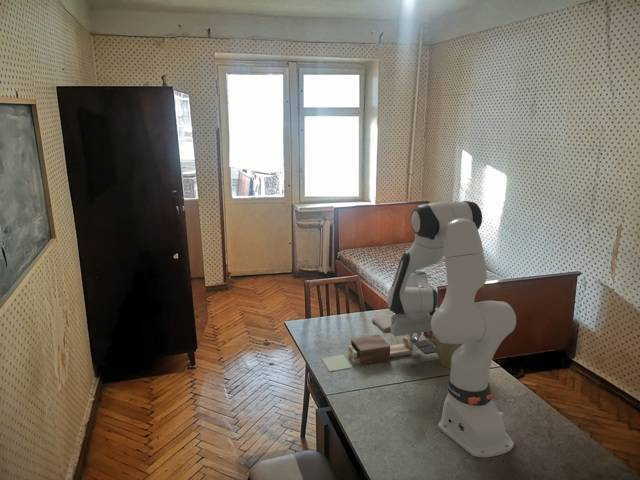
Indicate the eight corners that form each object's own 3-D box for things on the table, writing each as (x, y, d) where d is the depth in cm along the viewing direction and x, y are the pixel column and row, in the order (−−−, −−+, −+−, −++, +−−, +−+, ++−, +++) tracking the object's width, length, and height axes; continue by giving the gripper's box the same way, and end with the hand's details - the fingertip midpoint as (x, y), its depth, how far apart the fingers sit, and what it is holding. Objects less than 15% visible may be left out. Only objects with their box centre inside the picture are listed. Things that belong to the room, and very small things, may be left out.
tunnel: (389, 361, 178) (390, 346, 176) (361, 366, 174) (361, 351, 173) (378, 349, 187) (378, 334, 186) (351, 353, 184) (351, 338, 182)
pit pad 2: (438, 351, 185) (438, 350, 185) (425, 353, 183) (425, 353, 183) (432, 346, 189) (432, 345, 189) (419, 348, 187) (419, 348, 187)
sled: (412, 353, 183) (413, 342, 182) (353, 363, 176) (354, 352, 175) (405, 346, 188) (405, 336, 187) (348, 356, 181) (348, 345, 180)
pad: (352, 367, 174) (352, 367, 174) (329, 371, 171) (329, 371, 171) (343, 355, 183) (343, 354, 183) (321, 358, 180) (321, 358, 180)
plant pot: (448, 350, 186) (450, 314, 182) (478, 366, 174) (482, 327, 170) (421, 361, 178) (423, 323, 174) (451, 378, 166) (454, 338, 162)
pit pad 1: (431, 345, 190) (431, 344, 190) (418, 347, 188) (418, 347, 188) (425, 340, 194) (425, 339, 194) (413, 342, 193) (413, 342, 192)
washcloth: (419, 327, 208) (419, 320, 207) (383, 333, 202) (383, 327, 201) (405, 317, 219) (405, 311, 218) (371, 323, 213) (371, 316, 212)
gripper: (395, 316, 176) (394, 349, 180) (442, 310, 182) (440, 342, 185) (388, 310, 182) (387, 342, 185) (433, 304, 188) (432, 335, 191)
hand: (414, 342), depth 185 cm, fingers closed
